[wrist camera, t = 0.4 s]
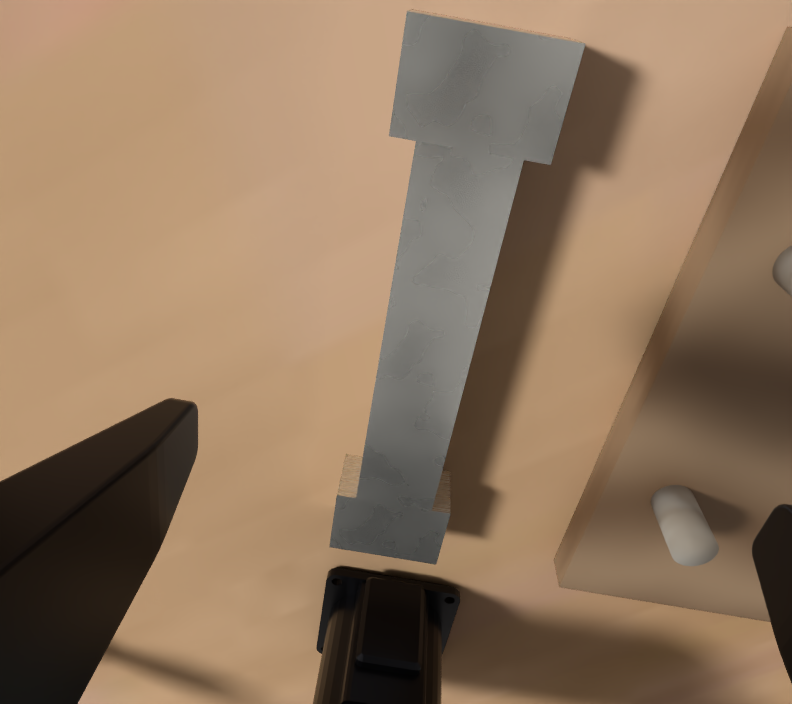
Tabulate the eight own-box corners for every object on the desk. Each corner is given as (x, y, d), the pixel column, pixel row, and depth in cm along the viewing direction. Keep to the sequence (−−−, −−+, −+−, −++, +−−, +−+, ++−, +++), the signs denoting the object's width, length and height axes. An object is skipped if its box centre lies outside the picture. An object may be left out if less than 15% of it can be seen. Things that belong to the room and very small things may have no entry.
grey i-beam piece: (436, 519, 27) (436, 564, 25) (338, 503, 27) (329, 547, 25) (567, 37, 17) (585, 43, 15) (411, 9, 17) (406, 11, 15)
